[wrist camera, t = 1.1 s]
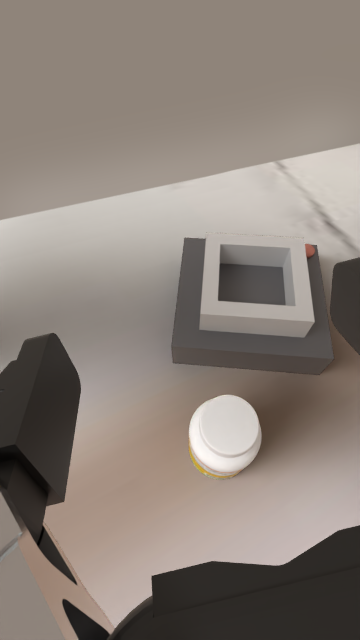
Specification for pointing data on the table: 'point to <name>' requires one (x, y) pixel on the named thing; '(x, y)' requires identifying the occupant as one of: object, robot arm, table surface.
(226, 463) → the supplement bottle
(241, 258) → the square bottle holder
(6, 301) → the table surface
